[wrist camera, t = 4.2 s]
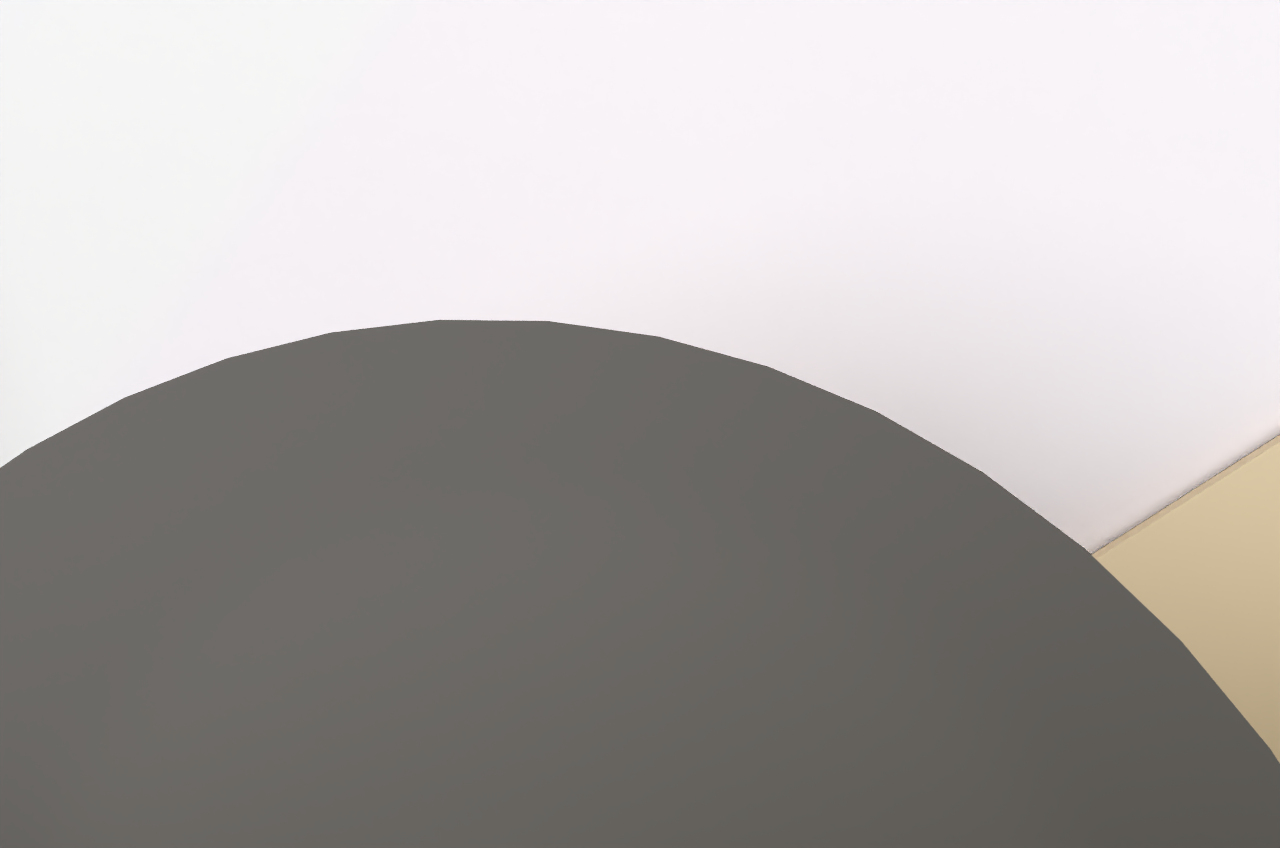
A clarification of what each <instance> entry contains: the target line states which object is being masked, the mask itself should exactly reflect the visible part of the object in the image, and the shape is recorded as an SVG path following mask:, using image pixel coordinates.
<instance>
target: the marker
mask: <svg viewBox="0 0 1280 848" xmlns="http://www.w3.org/2000/svg"><path fill="white" fill-rule="evenodd" d="M0 848H1280V763H1279V762H1278V760H1277V758H1276V757H1275V755H1274V754H1273V752H1272V751H1271V749H1270V748H1269V747H1268V745H1267V744H1266V743H1265V742H1264V741H1263V739H1262V738H1261V737H1260V736H1259V735H1258V733H1257V732H1256V731H1255V730H1254V728H1253V727H1252V726H1251V725H1250V724H1249V722H1248V721H1247V720H1246V719H1245V718H1244V716H1243V715H1242V714H1241V713H1240V711H1239V710H1238V709H1237V708H1236V707H1235V705H1234V704H1233V703H1232V702H1231V701H1230V699H1229V698H1228V697H1227V696H1226V695H1225V693H1224V692H1223V691H1222V690H1221V688H1220V687H1219V686H1218V685H1217V684H1216V682H1215V681H1214V680H1213V679H1212V678H1211V676H1210V675H1209V674H1208V673H1207V671H1206V670H1205V669H1204V668H1203V667H1202V665H1201V664H1200V663H1199V662H1198V661H1197V659H1196V658H1195V657H1194V656H1193V655H1192V653H1191V652H1190V651H1189V650H1188V648H1187V647H1186V646H1185V645H1184V644H1183V642H1182V641H1181V640H1180V639H1179V638H1178V637H1177V636H1176V635H1175V634H1174V633H1172V632H1171V631H1170V630H1169V629H1168V628H1167V627H1166V626H1165V625H1164V624H1163V623H1162V622H1161V621H1160V620H1159V619H1158V618H1157V617H1156V616H1155V615H1154V614H1153V613H1152V612H1151V611H1149V610H1148V609H1147V608H1146V607H1145V606H1144V605H1143V604H1142V603H1141V602H1140V601H1139V600H1138V599H1137V598H1136V597H1135V596H1134V595H1133V594H1132V593H1131V592H1130V591H1129V590H1127V589H1126V588H1125V587H1124V586H1123V585H1122V584H1121V583H1120V582H1119V581H1118V580H1117V579H1116V578H1115V577H1114V576H1113V575H1112V574H1111V573H1110V572H1109V571H1108V570H1107V569H1105V568H1104V567H1103V566H1102V565H1101V564H1100V563H1099V562H1098V561H1097V560H1096V559H1095V558H1094V557H1093V556H1092V555H1091V554H1090V553H1089V552H1088V551H1087V550H1086V549H1085V548H1083V547H1082V546H1080V545H1079V544H1078V543H1076V542H1075V541H1074V540H1072V539H1071V538H1070V537H1068V536H1067V535H1066V534H1064V533H1063V532H1062V531H1060V530H1059V529H1058V528H1056V527H1055V526H1054V525H1052V524H1051V523H1050V522H1048V521H1047V520H1046V519H1044V518H1043V517H1042V516H1040V515H1039V514H1038V513H1036V512H1035V511H1034V510H1032V509H1031V508H1030V507H1028V506H1027V505H1026V504H1024V503H1023V502H1022V501H1020V500H1019V499H1018V498H1016V497H1015V496H1014V495H1012V494H1011V493H1010V492H1008V491H1007V490H1006V489H1004V488H1003V487H1002V486H1000V485H999V484H998V483H996V482H995V481H994V480H992V479H991V478H990V477H988V476H987V475H985V474H984V473H983V472H981V471H979V470H978V469H976V468H974V467H972V466H971V465H969V464H967V463H965V462H964V461H962V460H960V459H958V458H957V457H955V456H953V455H951V454H950V453H948V452H946V451H944V450H943V449H941V448H939V447H937V446H936V445H934V444H932V443H930V442H929V441H927V440H925V439H923V438H922V437H920V436H918V435H916V434H915V433H913V432H911V431H909V430H908V429H906V428H904V427H902V426H901V425H899V424H897V423H895V422H894V421H892V420H890V419H888V418H887V417H885V416H883V415H881V414H880V413H878V412H876V411H873V410H871V409H869V408H866V407H864V406H861V405H859V404H857V403H854V402H852V401H849V400H847V399H845V398H842V397H840V396H837V395H835V394H833V393H830V392H828V391H825V390H823V389H821V388H818V387H816V386H813V385H811V384H808V383H806V382H804V381H801V380H799V379H796V378H794V377H792V376H789V375H787V374H784V373H782V372H780V371H777V370H775V369H772V368H770V367H767V366H764V365H760V364H756V363H753V362H749V361H745V360H742V359H738V358H734V357H731V356H727V355H723V354H720V353H716V352H712V351H709V350H705V349H702V348H698V347H694V346H691V345H687V344H683V343H680V342H676V341H672V340H669V339H665V338H661V337H657V336H650V335H643V334H636V333H629V332H621V331H614V330H607V329H600V328H593V327H586V326H579V325H571V324H564V323H557V322H550V321H481V320H435V321H426V322H418V323H409V324H401V325H392V326H384V327H375V328H367V329H358V330H350V331H341V332H333V333H328V334H324V335H320V336H316V337H312V338H308V339H304V340H300V341H296V342H292V343H288V344H283V345H279V346H275V347H271V348H267V349H263V350H259V351H255V352H251V353H247V354H243V355H239V356H235V357H231V358H227V359H224V360H222V361H219V362H216V363H214V364H211V365H209V366H206V367H203V368H201V369H198V370H196V371H193V372H190V373H188V374H185V375H183V376H180V377H177V378H175V379H172V380H170V381H167V382H164V383H162V384H159V385H157V386H154V387H151V388H149V389H146V390H144V391H141V392H138V393H136V394H133V395H131V396H128V397H125V398H123V399H121V400H119V401H118V402H116V403H114V404H112V405H110V406H108V407H106V408H104V409H103V410H101V411H99V412H97V413H95V414H93V415H91V416H89V417H87V418H86V419H84V420H82V421H80V422H78V423H76V424H74V425H72V426H71V427H69V428H67V429H65V430H63V431H61V432H59V433H57V434H55V435H54V436H52V437H50V438H48V439H46V440H44V441H42V442H40V443H38V444H37V445H35V446H33V447H31V448H29V449H27V450H26V451H24V452H23V453H21V454H20V455H19V456H17V457H16V458H14V459H13V460H11V461H10V462H8V463H7V464H6V465H4V466H3V467H1V468H0Z"/></svg>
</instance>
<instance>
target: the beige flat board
mask: <svg viewBox="0 0 1280 848" xmlns="http://www.w3.org/2000/svg"><path fill="white" fill-rule="evenodd" d="M1092 556H1093V557H1094V558H1095V559H1096V560H1097V561H1098V562H1099V563H1100V564H1101V565H1102V566H1103V567H1104V568H1105V569H1107V570H1108V571H1109V572H1110V573H1111V574H1112V575H1113V576H1114V577H1115V578H1116V579H1117V580H1118V581H1119V582H1120V583H1121V584H1122V585H1123V586H1124V587H1125V588H1126V589H1127V590H1129V591H1130V592H1131V593H1132V594H1133V595H1134V596H1135V597H1136V598H1137V599H1138V600H1139V601H1140V602H1141V603H1142V604H1143V605H1144V606H1145V607H1146V608H1147V609H1148V610H1149V611H1151V612H1152V613H1153V614H1154V615H1155V616H1156V617H1157V618H1158V619H1159V620H1160V621H1161V622H1162V623H1163V624H1164V625H1165V626H1166V627H1167V628H1168V629H1169V630H1170V631H1171V632H1172V633H1174V634H1175V635H1176V636H1177V637H1178V638H1179V639H1180V640H1181V641H1182V642H1183V644H1184V645H1185V646H1186V647H1187V648H1188V650H1189V651H1190V652H1191V653H1192V655H1193V656H1194V657H1195V658H1196V659H1197V661H1198V662H1199V663H1200V664H1201V665H1202V667H1203V668H1204V669H1205V670H1206V671H1207V673H1208V674H1209V675H1210V676H1211V678H1212V679H1213V680H1214V681H1215V682H1216V684H1217V685H1218V686H1219V687H1220V688H1221V690H1222V691H1223V692H1224V693H1225V695H1226V696H1227V697H1228V698H1229V699H1230V701H1231V702H1232V703H1233V704H1234V705H1235V707H1236V708H1237V709H1238V710H1239V711H1240V713H1241V714H1242V715H1243V716H1244V718H1245V719H1246V720H1247V721H1248V722H1249V724H1250V725H1251V726H1252V727H1253V728H1254V730H1255V731H1256V732H1257V733H1258V735H1259V736H1260V737H1261V738H1262V739H1263V741H1264V742H1265V743H1266V744H1267V745H1268V747H1269V748H1270V749H1271V751H1272V752H1273V754H1274V755H1275V757H1276V758H1277V760H1278V762H1279V763H1280V435H1279V436H1277V437H1275V438H1274V439H1272V440H1271V441H1269V442H1268V443H1266V444H1264V445H1263V446H1261V447H1260V448H1258V449H1257V450H1255V451H1253V452H1252V453H1250V454H1249V455H1247V456H1246V457H1244V458H1242V459H1241V460H1239V461H1238V462H1236V463H1235V464H1233V465H1232V466H1230V467H1228V468H1227V469H1225V470H1224V471H1222V472H1221V473H1219V474H1217V475H1216V476H1214V477H1213V478H1211V479H1210V480H1208V481H1206V482H1205V483H1203V484H1202V485H1200V486H1199V487H1197V488H1195V489H1194V490H1192V491H1191V492H1189V493H1188V494H1186V495H1184V496H1183V497H1181V498H1180V499H1178V500H1177V501H1175V502H1173V503H1172V504H1170V505H1169V506H1167V507H1166V508H1164V509H1162V510H1161V511H1159V512H1158V513H1156V514H1155V515H1153V516H1151V517H1150V518H1148V519H1147V520H1145V521H1144V522H1142V523H1140V524H1139V525H1137V526H1136V527H1134V528H1133V529H1131V530H1129V531H1128V532H1126V533H1125V534H1123V535H1122V536H1120V537H1118V538H1117V539H1115V540H1114V541H1112V542H1111V543H1109V544H1108V545H1106V546H1104V547H1103V548H1101V549H1100V550H1098V551H1097V552H1095V553H1093V554H1092Z"/></svg>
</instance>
